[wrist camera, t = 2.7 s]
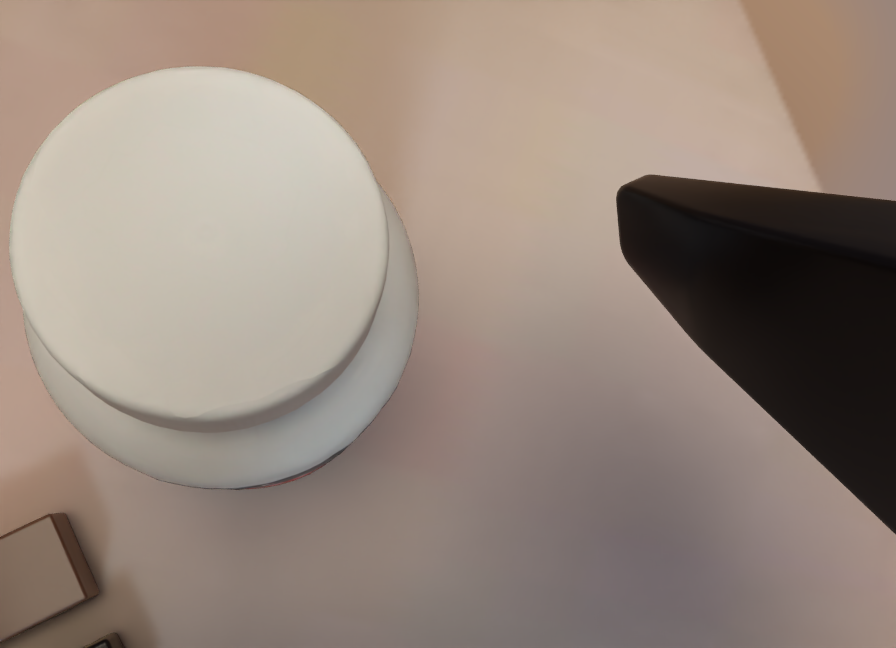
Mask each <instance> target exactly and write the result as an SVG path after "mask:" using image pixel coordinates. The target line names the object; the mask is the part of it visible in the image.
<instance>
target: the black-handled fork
mask: <svg viewBox="0 0 896 648" xmlns="http://www.w3.org/2000/svg"><path fill="white" fill-rule="evenodd" d="M83 648H123V646H122V643H121V641H120V639H119V637H118V635H117V634H116V633H111V634H109V635H107V636H105V637H103V638H101V639H99V640H97V641H95V642H93V643H91V644H89V645H87V646H85V647H83Z"/></svg>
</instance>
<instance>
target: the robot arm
mask: <svg viewBox="0 0 896 648" xmlns="http://www.w3.org/2000/svg"><path fill="white" fill-rule="evenodd" d="M616 203H617V215H618V226H619V238H620V246H621V250H622V253H623V255H624V257H625V259H626V261H627V262H628V264H629V265H630V266H631V268H632V269H633V270H634V271H635V272H636V273H637V275H638V276H639V277H640V278H641V279H642V281H643V282H644V283H645V284H646V285H647V287H648V288H649V289H650V290H651V291H652V293H653V294H654V295H655V296H656V297H657V299H658V300H659V301H660V302H661V303H662V305H663V306H664V307H665V308H666V309H667V311H668V312H669V313H670V314H671V315H672V317H673V318H674V319H675V320H676V321H677V323H678V324H679V325H680V326H681V327H682V328H683V330H684V331H685V332H686V333H687V334H688V335H689V337H690V338H691V339H692V340H693V341H694V342H695V343H696V344H697V346H698V347H699V348H700V349H701V350H702V351H703V352H704V353H705V354H706V355H707V356H708V357H709V358H710V359H711V360H713V361H714V362H715V363H716V364H717V365H718V366H719V367H720V368H721V369H722V370H723V371H724V372H725V373H726V374H727V375H728V376H729V377H730V378H731V379H733V380H734V381H735V382H736V383H737V384H738V385H739V386H740V387H741V388H742V389H743V390H744V391H745V392H746V393H747V394H748V395H749V396H750V397H751V398H753V399H754V400H755V401H756V402H757V403H758V404H759V405H760V406H761V407H762V408H763V409H764V410H765V411H766V412H767V413H768V414H769V415H770V416H772V417H773V418H774V419H775V420H776V421H777V422H778V423H779V424H780V425H781V426H782V427H783V428H784V429H785V430H786V431H787V432H788V433H789V434H790V435H792V436H793V437H794V438H795V439H796V440H797V441H798V442H799V443H800V444H801V445H802V446H803V447H804V448H805V449H806V450H807V451H808V452H809V453H811V454H812V455H813V456H814V457H815V458H816V459H817V460H818V461H819V462H820V463H821V464H822V465H823V466H824V467H825V468H826V469H827V470H828V471H829V472H831V473H832V474H833V475H834V476H835V477H836V478H837V479H838V480H839V481H840V482H841V483H842V484H843V485H844V486H845V487H846V488H847V489H848V490H849V491H851V492H852V493H853V494H854V495H855V496H856V497H857V498H858V499H859V500H860V501H861V502H862V503H863V504H864V505H865V506H866V507H867V508H868V509H870V510H871V511H872V512H873V513H874V514H875V515H876V516H877V517H878V518H879V519H880V520H881V521H882V522H883V523H884V524H885V525H886V526H887V527H888V528H890V529H891V530H892V531H893V532H894V533H895V534H896V201H891V200H882V199H873V198H863V197H854V196H844V195H836V194H826V193H817V192H808V191H799V190H789V189H780V188H771V187H762V186H753V185H743V184H734V183H725V182H716V181H706V180H697V179H688V178H679V177H669V176H660V175H645V176H643V177H640V178H638V179H636V180H634V181H632V182H629V183H627V184H625V185H623V186H621V188H620V189H619V190H618V192H617V196H616Z"/></svg>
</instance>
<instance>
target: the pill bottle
mask: <svg viewBox="0 0 896 648" xmlns="http://www.w3.org/2000/svg"><path fill="white" fill-rule="evenodd" d="M9 255H10V264H11V271H12V276H13V281H14V285H15V289H16V293H17V296H18V298H19V301H20V303H21V306H22V308H23V317H24V325H25V332H26V336H27V340H28V344H29V348H30V351H31V355H32V358H33V361H34V363H35V366H36V368H37V371H38V373H39V375H40V377H41V379H42V381H43V383H44V385H45V387H46V389H47V391H48V392H49V394H50V396H51V397H52V399H53V400H54V402H55V403H56V405H57V406H58V408H59V409H60V410H61V412H62V413H63V414H64V416H65V417H66V418H67V419H68V420H69V421H70V422H71V424H72V425H73V426H74V427H75V428H76V429H77V430H78V431H79V432H80V433H81V434H82V435H84V436H85V437H86V438H87V439H88V440H89V441H90V442H91V443H93V444H94V445H95V446H97V447H98V448H99V449H101V450H102V451H104V452H105V453H106V454H108V455H109V456H111V457H112V458H114V459H116V460H118V461H119V462H121V463H123V464H125V465H126V466H129V467H131V468H133V469H135V470H137V471H139V472H141V473H144V474H146V475H148V476H150V477H152V478H155V479H157V480H160V481H164V482H169V483H173V484H178V485H183V486H188V487H195V488H204V489H233V490H240V489H256V488H265V487H270V486H275V485H280V484H284V483H287V482H291V481H294V480H296V479H299V478H301V477H304V476H306V475H309V474H310V473H312V472H314V471H315V470H317V469H319V468H320V467H322V466H324V465H325V464H326V463H328V462H330V461H331V460H332V459H333V458H335V457H336V456H337V455H339V454H340V453H341V452H343V451H344V450H345V449H346V448H347V447H348V446H349V445H350V444H351V443H352V442H353V441H354V440H356V438H357V437H358V436H359V435H360V434H361V433H362V432H363V431H364V430H365V429H366V428H367V427H368V426H369V425H370V424H371V422H372V421H373V420H374V419H375V418H376V416H377V415H378V413H379V411H380V410H381V409H382V408H383V406H384V405H385V404H386V403H387V402H388V400H389V399H390V397H391V396H392V394H393V392H394V391H395V389H396V388H397V385H398V383H399V381H400V378H401V376H402V373H403V371H404V369H405V366H406V364H407V361H408V359H409V357H410V354H411V350H412V344H413V340H414V336H415V332H416V325H417V319H418V306H419V293H418V277H417V270H416V265H415V260H414V255H413V251H412V247H411V244H410V241H409V238H408V235H407V232H406V230H405V227H404V225H403V223H402V221H401V219H400V217H399V215H398V213H397V211H396V208H395V207H394V205H393V203H392V202H391V200H390V199H389V197H388V196H387V194H386V193H385V191H384V190H383V189H382V187H381V186H380V184H379V183H378V182H377V181H376V179H375V177H374V174H373V172H372V170H371V168H370V166H369V163H368V161H367V160H366V158H365V157H364V155H363V153H362V152H361V150H360V149H359V147H358V145H357V144H356V143H355V141H354V140H353V139H352V138H351V136H350V135H349V134H348V133H347V132H346V130H345V129H344V128H343V127H342V126H341V125H340V124H339V123H338V122H337V121H336V120H335V119H334V118H333V117H332V116H331V115H329V114H328V113H327V112H326V111H325V110H323V109H322V108H321V107H319V106H318V105H317V104H315V103H314V102H312V101H311V100H309V99H308V98H306V97H305V96H303V95H302V94H300V93H299V92H297V91H295V90H293V89H291V88H288V87H286V86H284V85H282V84H280V83H278V82H276V81H274V80H271V79H268V78H266V77H263V76H260V75H256V74H253V73H250V72H246V71H241V70H236V69H231V68H224V67H207V66H187V67H177V68H168V69H162V70H157V71H153V72H150V73H146V74H143V75H139V76H136V77H132V78H129V79H127V80H125V81H122V82H120V83H117V84H115V85H113V86H111V87H109V88H107V89H105V90H103V91H101V92H99V93H98V94H96V95H94V96H92V97H91V98H89V99H88V100H86V101H85V102H83V103H82V104H80V105H79V106H78V107H77V108H75V109H74V110H73V111H72V112H71V113H70V114H68V115H67V116H66V117H65V118H64V119H63V120H62V121H61V122H60V123H59V124H58V125H57V126H56V127H55V128H54V129H53V130H52V132H51V133H50V134H49V135H48V137H47V138H46V139H45V141H44V142H43V143H42V145H41V146H40V147H39V148H38V150H37V151H36V153H35V155H34V157H33V159H32V160H31V162H30V164H29V166H28V167H27V169H26V171H25V173H24V174H23V177H22V181H21V184H20V186H19V189H18V191H17V194H16V198H15V202H14V206H13V210H12V217H11V225H10V237H9Z"/></svg>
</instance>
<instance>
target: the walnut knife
mask: <svg viewBox="0 0 896 648" xmlns="http://www.w3.org/2000/svg"><path fill="white" fill-rule="evenodd" d="M98 593H99V590H98V588H97V585H96V583H95V581H94V578H93V576H92V574H91V572H90V569H89V567H88V565H87V562H86V560H85V558H84V556H83V553H82V551H81V549H80V546H79V544H78V542H77V540H76V537H75V535H74V533H73V530H72V528H71V526H70V524H69V521H68V519H67V517H66V515H65V514H64V513H56V514H48V515H46V516H43V517H41V518H39V519H37V520H35V521H33V522H31V523H29V524H26V525H24V526H22V527H20V528H18V529H16V530H14V531H12V532H9V533H7V534H5V535H3V536H1V537H0V643H2V642H4V641H6V640H8V639H10V638H12V637H14V636H16V635H18V634H20V633H22V632H24V631H26V630H28V629H30V628H32V627H34V626H36V625H38V624H40V623H42V622H44V621H46V620H48V619H50V618H52V617H54V616H56V615H58V614H60V613H62V612H64V611H66V610H68V609H70V608H72V607H74V606H76V605H78V604H80V603H82V602H84V601H86V600H88V599H90V598H92V597H94V596H96V595H97V594H98Z"/></svg>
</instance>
